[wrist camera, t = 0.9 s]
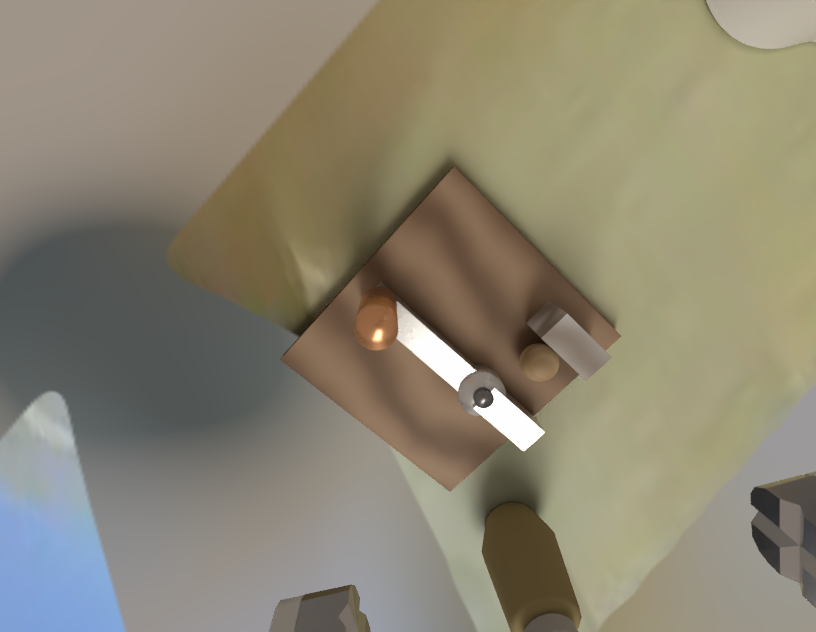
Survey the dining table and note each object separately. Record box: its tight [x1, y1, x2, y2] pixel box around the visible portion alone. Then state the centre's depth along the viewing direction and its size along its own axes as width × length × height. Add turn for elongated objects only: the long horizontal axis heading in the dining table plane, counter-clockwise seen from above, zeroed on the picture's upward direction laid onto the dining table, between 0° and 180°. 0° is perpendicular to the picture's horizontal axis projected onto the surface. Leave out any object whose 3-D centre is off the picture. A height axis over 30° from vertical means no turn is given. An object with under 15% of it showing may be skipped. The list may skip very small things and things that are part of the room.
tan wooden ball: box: [519, 343, 559, 382], centre depth 40 cm, size 4×4×4 cm
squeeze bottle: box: [482, 502, 581, 632], centre depth 40 cm, size 8×8×18 cm
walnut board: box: [280, 167, 621, 491], centre depth 40 cm, size 24×23×6 cm
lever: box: [354, 282, 545, 451], centre depth 37 cm, size 4×22×9 cm, turn 47°
